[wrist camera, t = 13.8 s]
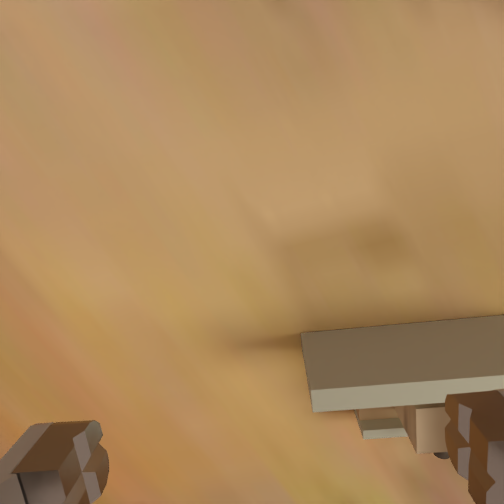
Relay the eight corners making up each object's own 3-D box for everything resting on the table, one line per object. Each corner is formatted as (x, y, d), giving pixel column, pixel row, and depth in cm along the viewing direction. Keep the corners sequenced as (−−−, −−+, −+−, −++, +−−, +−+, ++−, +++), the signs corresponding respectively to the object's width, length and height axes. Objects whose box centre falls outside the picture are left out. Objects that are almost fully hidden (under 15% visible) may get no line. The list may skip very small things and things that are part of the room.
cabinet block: (445, 365, 38) (478, 404, 32) (445, 413, 39) (476, 459, 33) (393, 369, 38) (416, 409, 32) (394, 417, 39) (417, 463, 33)
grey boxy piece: (522, 313, 38) (607, 367, 29) (517, 400, 41) (594, 477, 31) (300, 332, 40) (310, 390, 30) (308, 416, 42) (320, 494, 33)
